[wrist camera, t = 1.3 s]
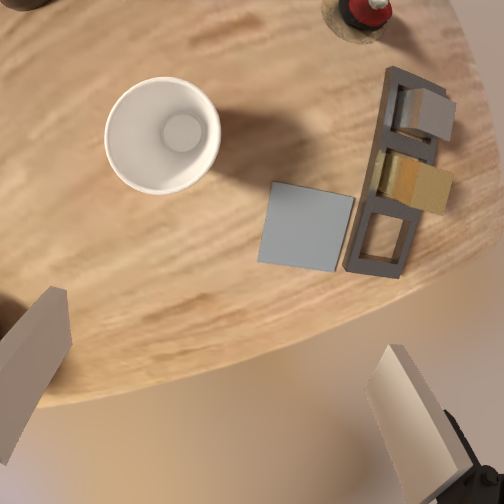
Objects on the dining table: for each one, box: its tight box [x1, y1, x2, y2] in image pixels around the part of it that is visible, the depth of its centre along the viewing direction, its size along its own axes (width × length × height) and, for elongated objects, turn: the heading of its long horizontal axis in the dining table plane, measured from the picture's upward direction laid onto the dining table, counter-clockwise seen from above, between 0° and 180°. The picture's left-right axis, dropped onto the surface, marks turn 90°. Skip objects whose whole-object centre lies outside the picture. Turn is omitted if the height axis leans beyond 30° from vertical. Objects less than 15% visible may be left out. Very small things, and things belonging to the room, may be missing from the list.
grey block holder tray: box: [342, 66, 446, 279], centre depth 35 cm, size 26×8×2 cm, turn 170°
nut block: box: [377, 153, 454, 216], centre depth 32 cm, size 5×5×9 cm
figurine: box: [322, 0, 392, 44], centre depth 25 cm, size 8×10×12 cm
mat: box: [257, 181, 354, 272], centre depth 38 cm, size 10×10×1 cm
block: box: [391, 88, 456, 142], centre depth 30 cm, size 5×5×7 cm
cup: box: [105, 77, 221, 195], centre depth 29 cm, size 10×10×11 cm
